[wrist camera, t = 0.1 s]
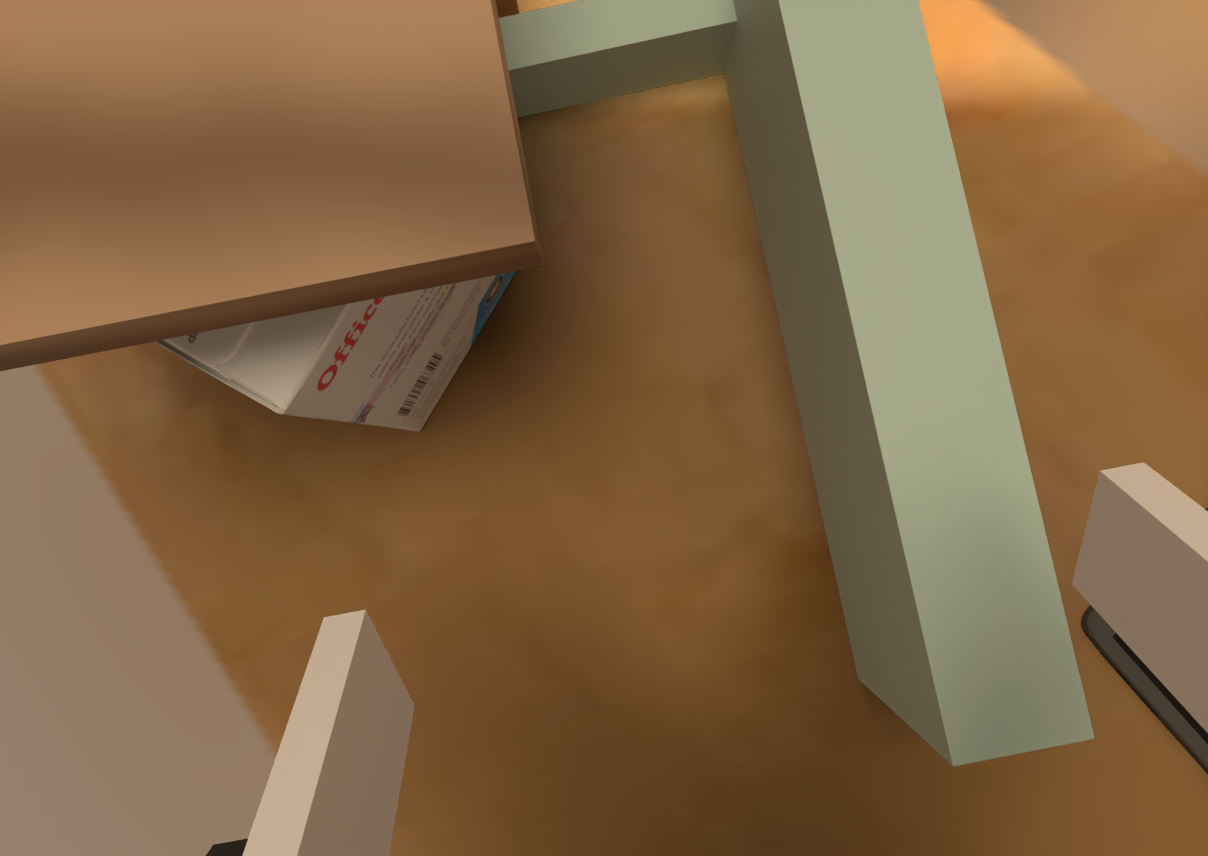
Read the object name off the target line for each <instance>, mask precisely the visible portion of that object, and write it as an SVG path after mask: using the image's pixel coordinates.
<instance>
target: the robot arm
mask: <svg viewBox="0 0 1208 856" xmlns="http://www.w3.org/2000/svg"><path fill="white" fill-rule="evenodd" d="M1072 585H1073V586H1074V587H1075V588H1076V589H1077V590H1078V591H1079V592H1080V594H1081V595H1082V596H1083V597H1084V598H1085V599H1086V600H1087V601H1088V602H1089V603H1090V605H1091V606H1092V607H1093V608H1094V609H1095V610H1096V611H1097V612H1098V613H1099V614H1100V616H1101V617H1102V618H1103V619H1104V620H1105V621H1106V622H1107V623H1108V624H1109V625H1110V627H1111V628H1112V629H1113V630H1114V631H1115V632H1116V633H1117V634H1118V635H1119V636H1120V637H1121V639H1122V640H1123V641H1124V642H1125V643H1126V644H1127V645H1128V646H1129V647H1130V648H1131V650H1132V651H1133V652H1134V653H1135V654H1136V655H1137V656H1138V657H1139V658H1140V659H1141V661H1142V662H1143V663H1144V664H1145V665H1146V666H1147V667H1148V668H1149V669H1150V670H1151V672H1152V673H1153V674H1154V675H1155V676H1156V677H1157V678H1158V679H1159V680H1160V681H1161V683H1162V684H1163V685H1164V686H1165V687H1166V688H1167V689H1168V690H1169V691H1170V692H1171V693H1172V695H1173V696H1174V697H1175V698H1176V699H1177V700H1178V701H1179V702H1180V703H1181V704H1182V706H1183V707H1184V708H1185V709H1186V710H1187V711H1188V712H1189V713H1190V714H1191V715H1192V717H1193V718H1194V719H1195V720H1196V721H1197V722H1198V723H1199V724H1200V725H1201V726H1202V728H1203V729H1204V730H1205V731H1206V732H1207V733H1208V511H1206V510H1205V509H1204V508H1202V507H1201V506H1200V505H1199V504H1197V503H1196V502H1195V501H1193V500H1192V499H1191V498H1189V497H1188V496H1187V495H1186V494H1184V493H1183V492H1182V491H1180V490H1179V489H1178V488H1176V487H1175V486H1174V485H1173V484H1171V483H1170V482H1169V481H1167V480H1166V479H1165V478H1163V477H1162V476H1161V475H1159V474H1158V473H1157V472H1156V471H1154V470H1153V469H1152V468H1150V467H1149V466H1148V465H1146V464H1145V463H1138V464H1133V465H1128V466H1122V467H1117V468H1112V469H1107V470H1101V471H1100V472H1099V476H1098V480H1097V484H1096V488H1095V492H1094V496H1093V500H1092V504H1091V508H1090V513H1089V517H1088V521H1087V525H1086V529H1085V533H1084V537H1083V541H1082V545H1081V549H1080V553H1079V557H1078V561H1077V565H1076V569H1075V573H1074V577H1073V581H1072ZM413 712H414V704H413V702H412V700H411V698H410V696H409V694H408V692H407V690H406V688H405V686H404V684H403V682H402V680H401V678H400V676H399V674H398V672H397V670H396V669H395V667H394V665H393V663H392V661H391V659H390V657H389V655H388V653H387V651H386V649H385V647H384V645H383V643H382V641H381V639H380V637H379V635H378V633H377V631H376V629H375V627H374V625H373V623H372V621H371V619H370V617H369V615H368V613H367V611H366V610H361V611H356V612H351V613H345V614H340V615H335V616H330V617H324V619H323V622H322V625H321V628H320V631H319V634H318V636H317V639H316V642H315V645H314V648H313V651H312V654H311V657H310V660H309V663H308V666H307V669H306V671H305V674H304V677H303V680H302V683H301V686H300V689H299V692H298V695H297V698H296V701H295V704H294V706H293V709H292V712H291V715H290V718H289V721H288V724H287V727H286V730H285V733H284V736H283V739H282V742H281V744H280V747H279V750H278V753H277V756H276V759H275V762H274V765H273V768H272V771H271V774H270V777H269V779H268V782H267V785H266V788H265V791H264V794H263V797H262V800H261V803H260V806H259V809H258V812H257V815H256V817H255V820H254V823H253V826H252V829H251V832H250V835H249V838H248V839H244V840H237V841H232V842H227V843H221V844H215V845H213V846H212V848H211V849H210V850H209V852H208V853H207V855H206V856H389V851H390V845H391V839H392V834H393V828H394V822H395V816H396V810H397V805H398V799H399V793H400V787H401V781H402V776H403V770H404V764H405V758H406V752H407V747H408V741H409V735H410V729H411V723H412V718H413Z"/></svg>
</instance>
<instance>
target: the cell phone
mask: <svg viewBox="0 0 1208 856" xmlns="http://www.w3.org/2000/svg"><path fill="white" fill-rule="evenodd" d="M1205 510H1206V511H1208V508H1206V509H1205ZM1081 626H1082V629H1083V630H1084V632H1085V634H1086V635H1087V636H1088V638H1089V639H1090V640H1091V642H1092V643H1093V644H1094V645H1095V647H1096V648H1097V649H1098V650H1099V652H1100V653H1101V654H1102V655H1103V657H1104V658H1105V659H1106V660H1107V661H1108V662H1109V663H1110V665H1111V666H1112V667H1113V668H1114V669H1115V670H1116V671H1117V672H1118V674H1119V675H1120V676H1121V677H1122V678H1123V679H1124V680H1125V681H1126V683H1127V684H1128V685H1129V686H1130V687H1131V688H1132V689H1133V690H1134V692H1135V693H1136V694H1137V695H1138V696H1139V697H1140V698H1141V699H1142V701H1143V702H1144V703H1145V704H1146V705H1147V706H1148V707H1149V708H1150V710H1151V711H1152V712H1153V713H1154V714H1155V715H1156V716H1157V717H1158V719H1159V720H1160V721H1161V722H1162V723H1163V724H1164V725H1165V726H1166V727H1167V729H1168V730H1169V731H1170V732H1171V733H1172V734H1173V735H1174V736H1175V738H1176V739H1177V740H1178V741H1179V742H1180V743H1181V744H1182V745H1183V747H1184V748H1185V749H1186V750H1187V751H1188V752H1189V753H1190V754H1191V756H1192V757H1193V758H1194V759H1195V760H1196V761H1197V762H1198V763H1199V765H1200V766H1201V767H1202V768H1203V769H1204V770H1205V771H1206V772H1207V773H1208V733H1207V732H1206V731H1205V730H1204V729H1203V728H1202V726H1201V725H1200V724H1199V723H1198V722H1197V721H1196V720H1195V719H1194V718H1193V717H1192V715H1191V714H1190V713H1189V712H1188V711H1187V710H1186V709H1185V708H1184V707H1183V706H1182V704H1181V703H1180V702H1179V701H1178V700H1177V699H1176V698H1175V697H1174V696H1173V695H1172V693H1171V692H1170V691H1169V690H1168V689H1167V688H1166V687H1165V686H1164V685H1163V684H1162V683H1161V681H1160V680H1159V679H1158V678H1157V677H1156V676H1155V675H1154V674H1153V673H1152V672H1151V670H1150V669H1149V668H1148V667H1147V666H1146V665H1145V664H1144V663H1143V662H1142V661H1141V659H1140V658H1139V657H1138V656H1137V655H1136V654H1135V653H1134V652H1133V651H1132V650H1131V648H1130V647H1129V646H1128V645H1127V644H1126V643H1125V642H1124V641H1123V640H1122V639H1121V637H1120V636H1119V635H1118V634H1117V633H1116V632H1115V631H1114V630H1113V629H1112V628H1111V627H1110V625H1109V624H1108V623H1107V622H1106V621H1105V620H1104V619H1103V618H1102V617H1101V616H1100V614H1099V613H1098V612H1097V611H1096V610H1095V609H1094V608H1093V607H1092V606H1091V605H1090V606H1089V607H1088V609H1087V610H1086V611H1085V612H1084V614H1083V616H1082V619H1081Z"/></svg>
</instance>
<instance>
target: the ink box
mask: <svg viewBox="0 0 1208 856" xmlns="http://www.w3.org/2000/svg"><path fill="white" fill-rule="evenodd" d="M515 273H516V271H515V272H509V273H504V274H499V275H494V276H489V277H484V278H478V279H473V280H468V281H463V282H458V283H453V284H448V285H442V286H437V287H432V288H427V289H422V290H417V291H411V292H406V293H401V294H396V295H391V296H386V297H380V298H375V299H370V300H365V301H360V302H355V303H349V304H344V305H339V306H334V307H329V308H324V309H319V310H313V311H308V312H303V313H298V314H293V315H288V316H282V317H277V318H272V319H267V320H262V321H257V322H251V323H246V324H241V325H236V326H231V327H226V328H220V329H215V330H210V331H205V332H200V333H195V334H190V335H184V336H179V337H174V338H169V339H164V340H159V341H153V342H155V343H156V344H158V345H160V346H161V347H163V348H165V349H166V350H168V351H170V352H172V353H173V354H175V355H177V356H179V357H180V358H182V359H183V360H185V361H187V362H189V363H190V364H192V365H194V366H196V367H197V368H199V369H201V370H202V371H204V372H206V373H208V374H209V375H211V376H213V377H215V378H216V379H218V380H220V381H222V382H223V383H225V384H227V385H229V386H230V387H232V388H234V389H236V390H237V391H239V392H241V393H243V394H245V395H246V396H248V397H250V398H252V399H253V400H255V401H257V402H259V403H260V404H262V405H264V406H266V407H268V408H269V409H271V410H272V411H274V412H276V413H278V414H283V415H292V416H298V417H307V418H315V419H324V420H333V421H341V422H349V423H358V424H366V425H375V426H381V427H389V428H395V429H401V430H409V431H416V432H419V431H421V430H422V428H423V426H424V424H425V423H426V421H427V419H428V417H429V416H430V414H431V412H432V411H433V409H434V407H435V406H436V404H437V403H438V401H439V399H440V398H441V396H442V394H443V393H444V391H445V389H446V388H447V386H448V384H449V383H450V381H451V379H452V377H453V376H454V374H455V372H456V371H457V369H458V367H459V366H460V364H461V363H462V361H463V359H464V358H465V356H466V354H467V353H468V351H469V349H470V348H471V346H472V344H473V343H474V341H475V339H476V338H477V336H478V334H479V333H480V331H481V329H482V328H483V326H484V325H485V323H486V321H487V320H488V318H489V316H490V315H491V313H492V311H493V310H494V308H495V306H496V305H497V303H498V302H499V300H500V298H501V297H502V295H503V293H504V291H505V290H506V288H507V286H508V285H509V283H510V281H511V280H512V278H513V276H514V275H515Z"/></svg>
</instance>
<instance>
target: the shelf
mask: <svg viewBox="0 0 1208 856" xmlns="http://www.w3.org/2000/svg"><path fill="white" fill-rule="evenodd" d="M516 14H519V10H518V5H517V0H0V371H3V370H9V369H14V368H19V367H24V366H30V365H35V364H40V363H45V362H50V361H55V360H61V359H66V358H71V357H76V356H81V355H86V354H91V353H97V352H102V351H107V350H112V349H117V348H122V347H128V346H133V345H138V344H143V343H148V342H153V341H159V340H164V339H169V338H174V337H179V336H184V335H190V334H195V333H200V332H205V331H210V330H215V329H220V328H226V327H231V326H236V325H241V324H246V323H251V322H257V321H262V320H267V319H272V318H277V317H282V316H288V315H293V314H298V313H303V312H308V311H313V310H319V309H324V308H329V307H334V306H339V305H344V304H349V303H355V302H360V301H365V300H370V299H375V298H380V297H386V296H391V295H396V294H401V293H406V292H411V291H417V290H422V289H427V288H432V287H437V286H442V285H448V284H453V283H458V282H463V281H468V280H473V279H478V278H484V277H489V276H494V275H499V274H504V273H509V272H515V271H520V270H525V269H530V268H535V267H540V266H545V264H544V258H543V253H542V248H541V242H540V237H539V231H538V226H537V221H536V215H535V210H534V205H533V199H532V194H531V188H530V183H529V178H528V172H527V167H526V162H525V156H524V151H523V146H522V140H521V135H520V129H519V124H518V119H517V113H516V108H515V103H514V97H513V92H512V86H511V81H510V76H509V70H508V65H507V60H506V54H505V49H504V44H503V38H502V33H501V27H500V22H499V18H502V17H506V16H511V15H516Z"/></svg>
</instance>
